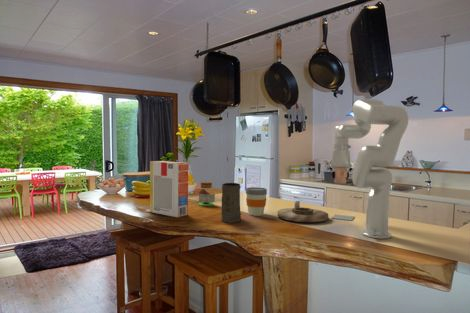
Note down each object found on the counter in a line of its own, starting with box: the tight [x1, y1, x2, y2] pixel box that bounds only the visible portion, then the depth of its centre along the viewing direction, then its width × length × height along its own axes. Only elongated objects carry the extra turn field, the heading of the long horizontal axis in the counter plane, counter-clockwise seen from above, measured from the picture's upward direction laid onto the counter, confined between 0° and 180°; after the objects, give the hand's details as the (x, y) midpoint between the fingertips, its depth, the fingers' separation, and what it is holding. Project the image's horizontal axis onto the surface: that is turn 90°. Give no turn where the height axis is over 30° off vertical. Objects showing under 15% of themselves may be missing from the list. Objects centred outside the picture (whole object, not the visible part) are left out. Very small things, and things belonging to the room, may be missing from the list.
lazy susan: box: [277, 200, 329, 223], centre depth 189 cm, size 28×28×6 cm
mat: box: [330, 214, 355, 222], centre depth 192 cm, size 11×11×1 cm
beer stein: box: [220, 182, 242, 224], centre depth 181 cm, size 15×11×20 cm
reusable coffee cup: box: [245, 186, 268, 217], centre depth 198 cm, size 13×13×15 cm
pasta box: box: [149, 160, 189, 218], centre depth 195 cm, size 23×8×30 cm, turn 56°
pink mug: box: [333, 167, 347, 185], centre depth 189 cm, size 9×6×9 cm
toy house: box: [197, 181, 216, 207], centre depth 225 cm, size 12×13×15 cm
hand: (340, 178), depth 190 cm, fingers closed on pink mug, 6 cm apart
